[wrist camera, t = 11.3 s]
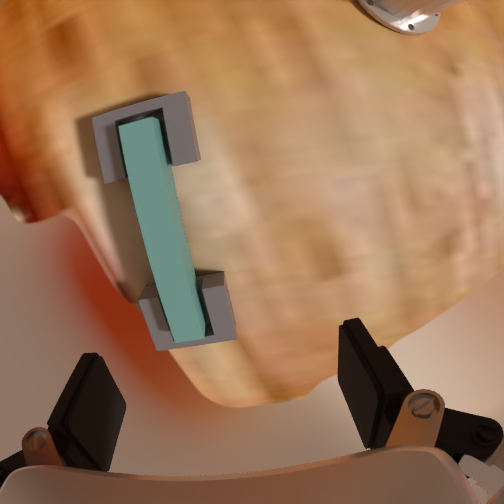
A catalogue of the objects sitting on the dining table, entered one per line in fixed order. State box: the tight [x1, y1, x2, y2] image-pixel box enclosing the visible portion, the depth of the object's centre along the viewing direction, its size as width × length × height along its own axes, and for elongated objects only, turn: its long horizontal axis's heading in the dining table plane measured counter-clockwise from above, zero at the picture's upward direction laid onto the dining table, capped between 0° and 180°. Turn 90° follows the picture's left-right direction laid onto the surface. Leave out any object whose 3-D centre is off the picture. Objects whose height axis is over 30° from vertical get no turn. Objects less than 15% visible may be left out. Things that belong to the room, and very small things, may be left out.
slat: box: [118, 117, 206, 343], centre depth 28 cm, size 21×3×4 cm, turn 9°
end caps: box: [92, 91, 237, 351], centre depth 30 cm, size 25×9×4 cm, turn 10°
